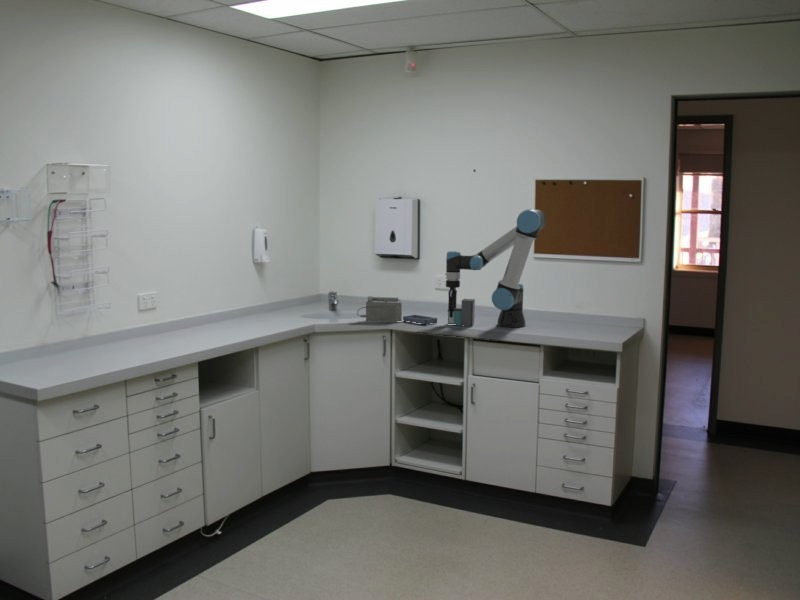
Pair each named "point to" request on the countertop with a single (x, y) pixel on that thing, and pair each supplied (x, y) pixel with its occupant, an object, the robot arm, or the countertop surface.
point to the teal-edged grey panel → (456, 316)
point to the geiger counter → (383, 309)
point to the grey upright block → (467, 312)
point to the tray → (420, 319)
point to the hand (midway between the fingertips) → (452, 322)
